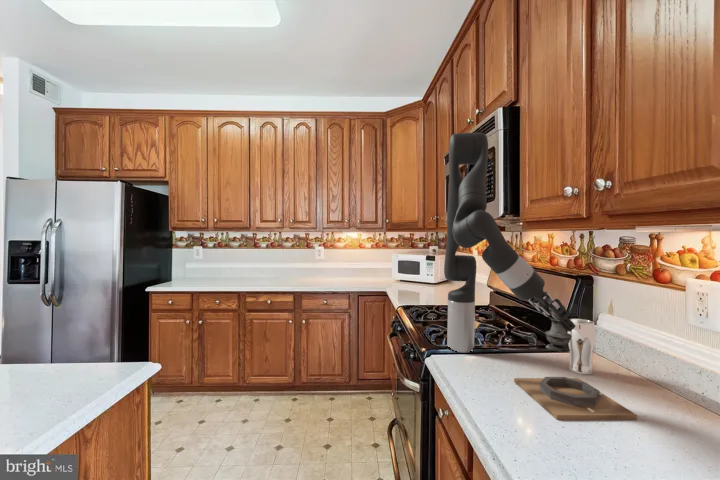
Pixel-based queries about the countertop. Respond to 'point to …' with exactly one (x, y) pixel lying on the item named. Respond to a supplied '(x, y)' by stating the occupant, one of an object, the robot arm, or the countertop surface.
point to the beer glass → (581, 346)
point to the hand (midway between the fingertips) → (566, 326)
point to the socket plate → (574, 411)
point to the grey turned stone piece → (558, 337)
